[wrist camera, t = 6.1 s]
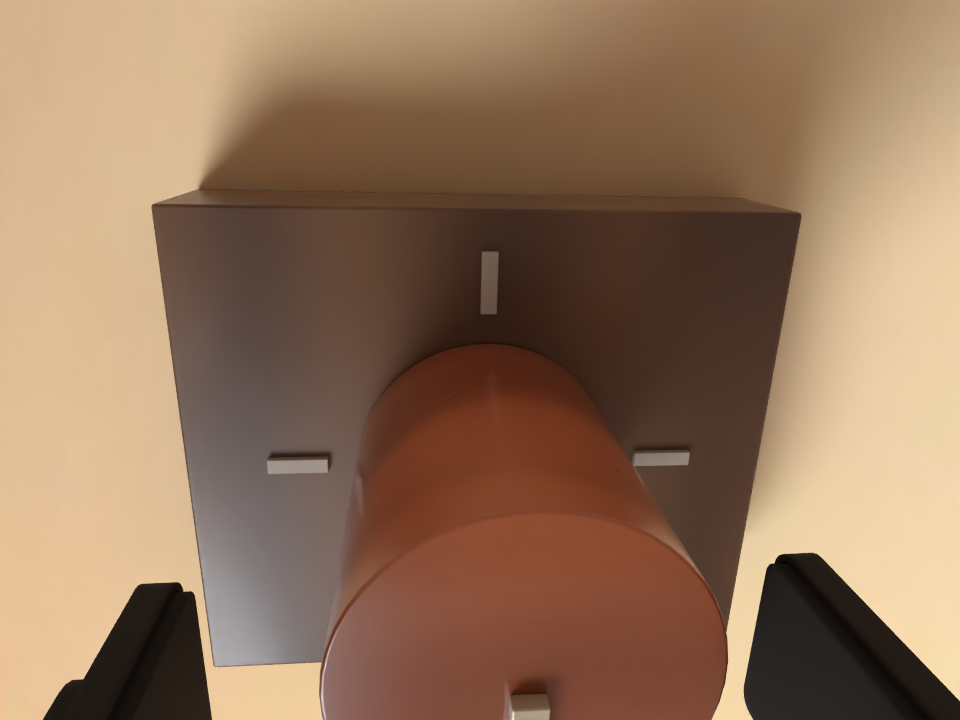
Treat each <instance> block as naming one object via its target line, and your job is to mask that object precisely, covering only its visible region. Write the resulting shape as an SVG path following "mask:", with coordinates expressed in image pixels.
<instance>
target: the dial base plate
mask: <svg viewBox="0 0 960 720" xmlns="http://www.w3.org/2000/svg"><path fill="white" fill-rule="evenodd" d="M152 214H153V222H154V229H155V237H156V244H157V251H158V259H159V266H160V273H161V281H162V288H163V296H164V303H165V310H166V318H167V325H168V332H169V340H170V347H171V355H172V362H173V369H174V377H175V384H176V391H177V399H178V406H179V414H180V421H181V428H182V436H183V443H184V450H185V458H186V465H187V473H188V480H189V487H190V495H191V502H192V509H193V517H194V524H195V532H196V539H197V546H198V554H199V561H200V568H201V576H202V583H203V591H204V598H205V605H206V613H207V620H208V627H209V635H210V642H211V650H212V657H213V664H214V667H229V666H250V665H272V664H293V663H315V662H322V658H323V652H324V646H325V641H326V635H327V629H328V623H329V618H330V612H331V606H332V600H333V595H334V589H335V583H336V577H337V572H338V566H339V560H340V554H341V549H342V543H343V537H344V531H345V526H346V520H347V514H348V508H349V503H350V497H351V491H352V485H353V480H354V474H355V468H356V462H357V457H358V451H359V445H360V441H361V436H362V432H363V429H364V426H365V423H366V421H367V418H368V416H369V414H370V412H371V411H372V409H373V407H374V405H375V403H376V402H377V401H378V399H379V398H380V396H381V395H382V394H383V392H384V391H385V390H386V389H387V388H388V387H389V386H390V385H391V384H392V383H393V382H394V381H395V380H396V379H397V378H398V377H399V376H400V375H402V374H403V373H404V372H405V371H407V370H408V369H409V368H411V367H413V366H414V365H416V364H418V363H419V362H421V361H422V360H424V359H427V358H429V357H431V356H433V355H435V354H438V353H440V352H444V351H447V350H450V349H453V348H457V347H463V346H469V345H479V344H497V345H508V346H513V347H518V348H523V349H526V350H529V351H532V352H535V353H538V354H540V355H542V356H544V357H546V358H548V359H550V360H552V361H554V362H556V363H557V364H558V365H560V366H561V367H563V368H564V369H566V370H567V371H568V372H569V373H570V374H571V375H573V376H574V377H575V378H576V379H577V380H578V381H579V382H580V383H581V385H582V386H583V387H584V388H585V389H586V391H587V392H588V393H589V395H590V397H591V398H592V400H593V401H594V403H595V405H596V406H597V408H598V409H599V411H600V413H601V414H602V416H603V417H604V419H605V421H606V422H607V424H608V425H609V427H610V429H611V430H612V432H613V433H614V435H615V437H616V438H617V440H618V441H619V443H620V445H621V446H622V448H623V449H624V451H625V453H626V454H627V456H628V457H629V459H630V461H631V462H632V464H633V466H634V467H635V469H636V470H637V472H638V474H639V475H640V477H641V478H642V480H643V482H644V483H645V485H646V486H647V488H648V490H649V491H650V493H651V494H652V496H653V498H654V499H655V501H656V502H657V504H658V506H659V507H660V509H661V510H662V512H663V514H664V515H665V517H666V518H667V520H668V522H669V523H670V525H671V526H672V528H673V530H674V531H675V533H676V534H677V536H678V538H679V539H680V541H681V542H682V544H683V546H684V547H685V549H686V551H687V552H688V554H689V555H690V557H691V559H692V560H693V562H694V563H695V565H696V567H697V568H698V570H699V571H700V573H701V575H702V576H703V578H704V579H705V581H706V583H707V584H708V586H709V588H710V589H711V591H712V593H713V594H714V596H715V598H716V601H717V603H718V606H719V608H720V611H721V613H722V616H723V620H724V625H725V629H726V631H727V625H728V620H729V614H730V608H731V603H732V597H733V592H734V586H735V581H736V575H737V570H738V564H739V559H740V553H741V548H742V542H743V537H744V531H745V526H746V520H747V515H748V509H749V504H750V498H751V493H752V487H753V481H754V476H755V470H756V465H757V459H758V454H759V448H760V443H761V437H762V432H763V426H764V421H765V415H766V410H767V404H768V399H769V393H770V388H771V382H772V377H773V371H774V366H775V360H776V355H777V349H778V343H779V338H780V332H781V327H782V321H783V316H784V310H785V305H786V299H787V294H788V288H789V283H790V277H791V272H792V266H793V261H794V255H795V250H796V244H797V239H798V233H799V228H800V222H801V213H798V212H795V211H791V210H787V209H783V208H778V207H774V206H770V205H766V204H762V203H758V202H754V201H750V200H746V199H742V198H694V197H631V196H568V195H505V194H442V193H379V192H316V191H253V190H194V191H191V192H188V193H185V194H182V195H179V196H176V197H173V198H170V199H167V200H164V201H161V202H158V203H155V204H153V205H152Z"/></svg>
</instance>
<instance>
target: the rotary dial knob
mask: <svg viewBox="0 0 960 720" xmlns="http://www.w3.org/2000/svg"><path fill="white" fill-rule="evenodd" d="M727 665H728V647H727V634H726V629H725V625H724V620H723V616H722V613H721V611H720V608H719V606H718V603H717V601H716V598H715V596H714V594H713V593H712V591H711V589H710V588H709V586H708V584H707V583H706V581H705V579H704V578H703V576H702V575H701V573H700V571H699V570H698V568H697V567H696V565H695V563H694V562H693V560H692V559H691V557H690V555H689V554H688V552H687V551H686V549H685V547H684V546H683V544H682V542H681V541H680V539H679V538H678V536H677V534H676V533H675V531H674V530H673V528H672V526H671V525H670V523H669V522H668V520H667V518H666V517H665V515H664V514H663V512H662V510H661V509H660V507H659V506H658V504H657V502H656V501H655V499H654V498H653V496H652V494H651V493H650V491H649V490H648V488H647V486H646V485H645V483H644V482H643V480H642V478H641V477H640V475H639V474H638V472H637V470H636V469H635V467H634V466H633V464H632V462H631V461H630V459H629V457H628V456H627V454H626V453H625V451H624V449H623V448H622V446H621V445H620V443H619V441H618V440H617V438H616V437H615V435H614V433H613V432H612V430H611V429H610V427H609V425H608V424H607V422H606V421H605V419H604V417H603V416H602V414H601V413H600V411H599V409H598V408H597V406H596V405H595V403H594V401H593V400H592V398H591V397H590V395H589V393H588V392H587V391H586V389H585V388H584V387H583V386H582V385H581V383H580V382H579V381H578V380H577V379H576V378H575V377H574V376H573V375H571V374H570V373H569V372H568V371H567V370H566V369H564V368H563V367H561V366H560V365H558V364H557V363H556V362H554V361H552V360H550V359H548V358H546V357H544V356H542V355H540V354H538V353H535V352H532V351H529V350H526V349H523V348H518V347H513V346H508V345H497V344H479V345H469V346H463V347H457V348H453V349H450V350H447V351H444V352H440V353H438V354H435V355H433V356H431V357H429V358H427V359H424V360H422V361H421V362H419V363H418V364H416V365H414V366H413V367H411V368H409V369H408V370H407V371H405V372H404V373H403V374H402V375H400V376H399V377H398V378H397V379H396V380H395V381H394V382H393V383H392V384H391V385H390V386H389V387H388V388H387V389H386V390H385V391H384V392H383V394H382V395H381V396H380V398H379V399H378V401H377V402H376V403H375V405H374V407H373V409H372V411H371V412H370V414H369V416H368V418H367V421H366V423H365V426H364V429H363V432H362V436H361V441H360V445H359V451H358V457H357V462H356V468H355V474H354V480H353V485H352V491H351V497H350V503H349V508H348V514H347V520H346V526H345V531H344V537H343V543H342V549H341V554H340V560H339V566H338V572H337V577H336V583H335V589H334V595H333V600H332V606H331V612H330V618H329V623H328V629H327V635H326V641H325V646H324V652H323V658H322V664H321V669H320V686H319V697H320V704H321V712H322V717H323V720H711V719H712V717H713V715H714V713H715V711H716V708H717V706H718V704H719V702H720V698H721V695H722V691H723V688H724V684H725V680H726V672H727Z"/></svg>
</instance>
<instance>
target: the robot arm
mask: <svg viewBox="0 0 960 720" xmlns="http://www.w3.org/2000/svg"><path fill="white" fill-rule="evenodd" d="M744 698H745V703H746V706H747V709H748V711H749V713H750V715H751V716H752V718H753V720H960V701H959V700H958V699H957V698H956V697H955V696H954V695H953V694H952V693H951V692H950V691H949V690H948V689H947V687H946V686H945V685H944V684H943V683H942V682H941V681H940V680H939V679H938V678H937V677H936V676H935V675H934V674H933V673H932V672H931V671H930V670H929V669H928V668H927V667H926V666H925V665H924V664H923V663H922V662H921V660H920V659H919V658H918V657H917V656H916V655H915V654H914V653H913V652H912V651H911V650H910V649H909V648H908V647H907V646H906V645H905V644H904V643H903V642H902V641H901V640H900V639H899V638H898V637H897V636H896V635H895V633H894V632H893V631H892V630H891V629H890V628H889V627H888V626H887V625H886V624H885V623H884V622H883V621H882V620H881V619H880V618H879V617H878V616H877V615H876V614H875V613H874V612H873V611H872V610H871V609H870V608H869V606H868V605H867V604H866V603H865V602H864V601H863V600H862V599H861V598H860V597H859V596H858V595H857V594H856V593H855V592H854V591H853V590H852V589H851V588H850V587H849V586H848V585H847V584H846V583H845V582H844V581H843V579H842V578H841V577H840V576H839V575H838V574H837V573H836V572H835V571H834V570H833V569H832V568H831V567H830V566H829V565H828V564H827V563H826V562H825V561H824V560H823V559H822V558H821V557H820V556H819V555H817V554H815V553H798V554H782V555H779V556H778V557H777V559H776V561H775V563H774V564H770V565H769V566H768V567H767V570H766V575H765V580H764V585H763V590H762V595H761V601H760V606H759V611H758V616H757V621H756V626H755V632H754V637H753V642H752V647H751V652H750V658H749V663H748V668H747V673H746V678H745V684H744ZM43 720H212V717H211V709H210V702H209V695H208V687H207V680H206V673H205V666H204V658H203V651H202V644H201V637H200V629H199V622H198V615H197V607H196V600H195V595H194V593H193V592H191V591H190V592H183V588H182V586H181V584H180V583H178V582H174V583H152V584H140V585H138V586H137V588H136V589H135V590H134V592H133V594H132V596H131V597H130V599H129V601H128V603H127V604H126V606H125V608H124V610H123V611H122V613H121V615H120V617H119V618H118V620H117V622H116V624H115V625H114V627H113V629H112V631H111V632H110V634H109V636H108V637H107V639H106V641H105V643H104V644H103V646H102V648H101V650H100V651H99V653H98V655H97V657H96V658H95V660H94V662H93V664H92V665H91V667H90V669H89V671H88V672H87V674H86V676H85V678H84V679H83V680H72V681H70V682H69V683H67V684H66V685H65V686H64V687H63V688H62V690H61V691H60V692H59V694H58V695H57V697H56V699H55V700H54V702H53V704H52V705H51V707H50V709H49V710H48V712H47V714H46V715H45V717H44V719H43Z"/></svg>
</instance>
